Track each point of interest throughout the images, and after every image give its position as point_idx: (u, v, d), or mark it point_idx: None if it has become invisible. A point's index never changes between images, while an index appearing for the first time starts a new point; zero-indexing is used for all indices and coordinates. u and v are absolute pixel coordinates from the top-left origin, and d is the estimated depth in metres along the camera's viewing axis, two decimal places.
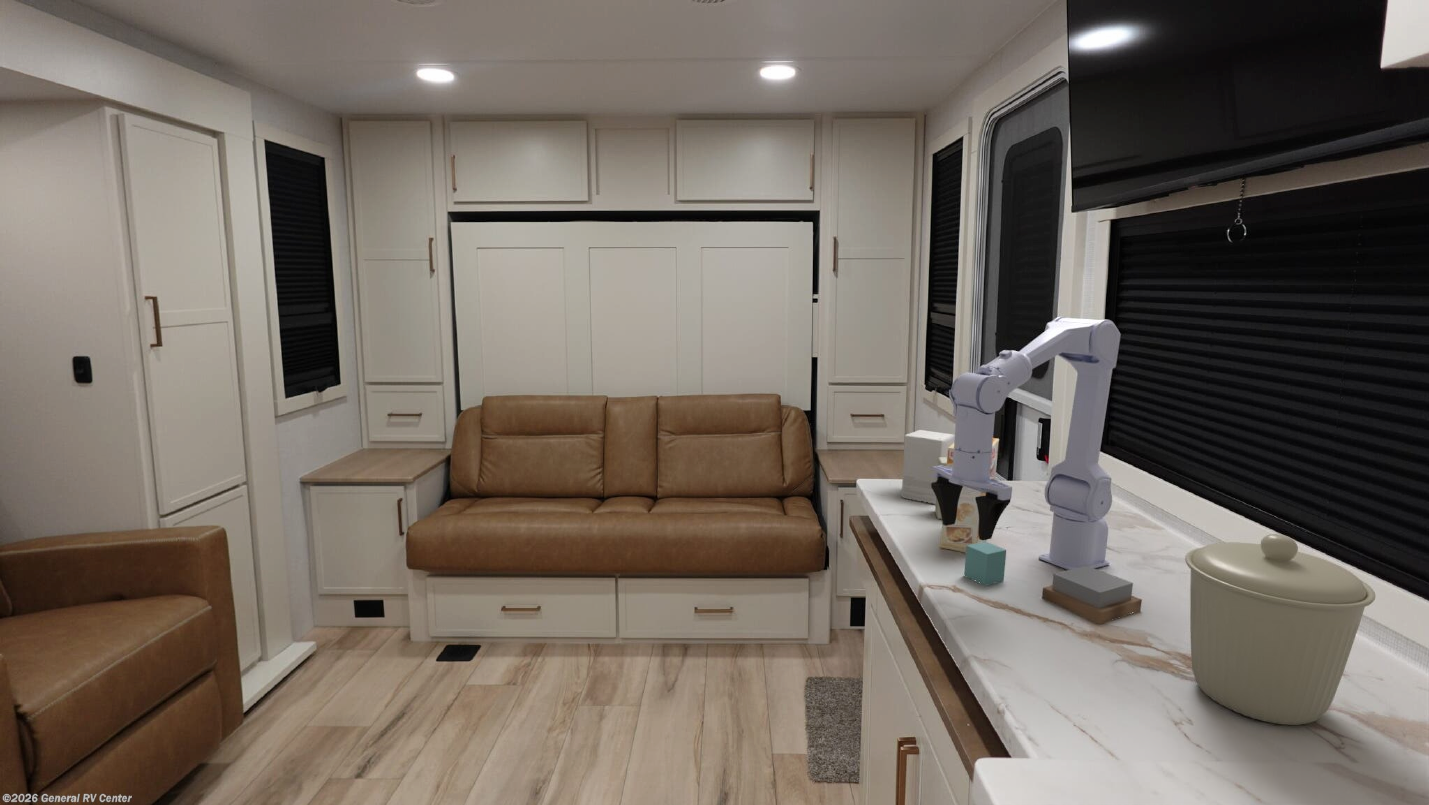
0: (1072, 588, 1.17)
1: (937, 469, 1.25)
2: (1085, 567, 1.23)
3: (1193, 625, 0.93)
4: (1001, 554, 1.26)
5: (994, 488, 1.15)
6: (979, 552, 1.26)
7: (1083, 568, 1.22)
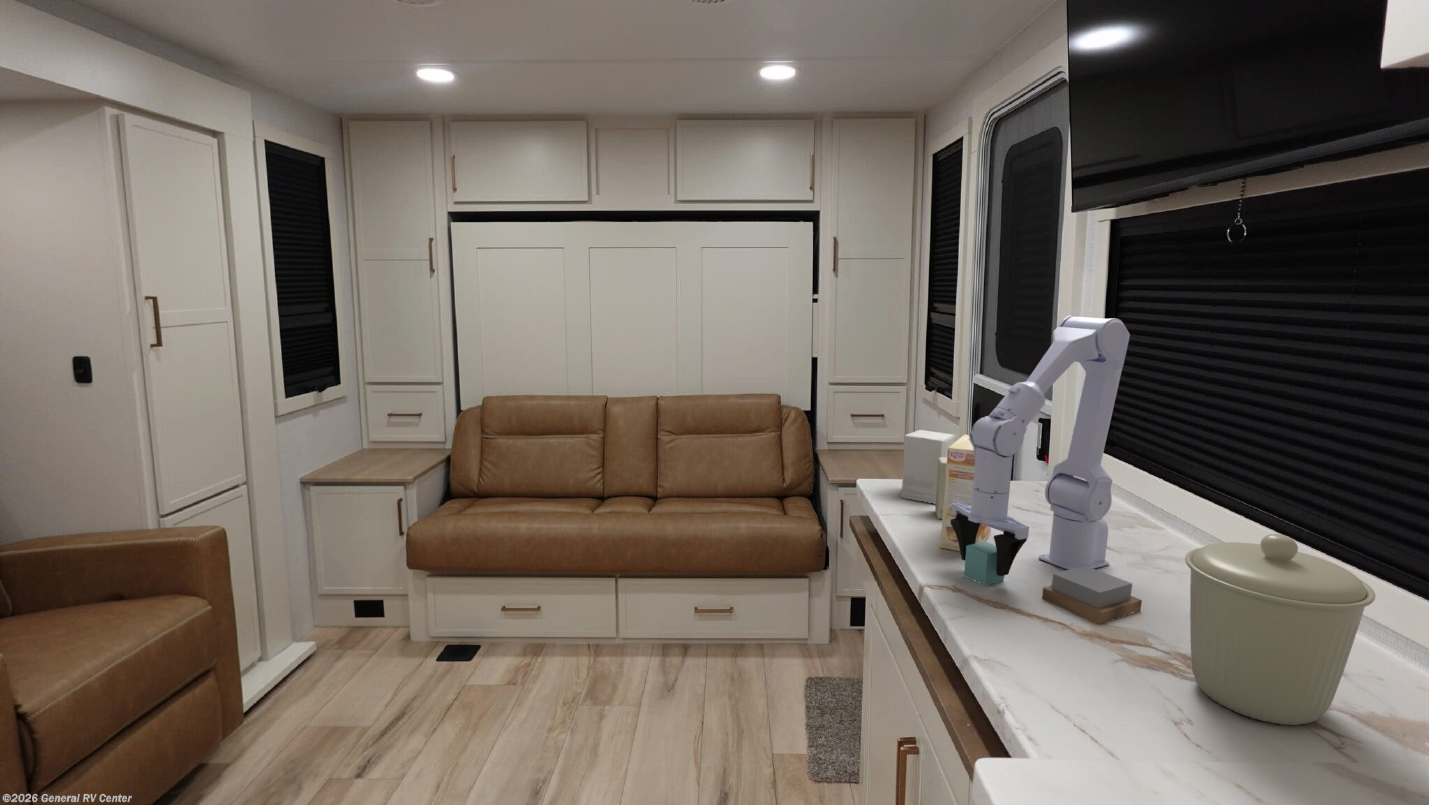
0: (1071, 588, 1.17)
1: (956, 506, 1.31)
2: (1084, 567, 1.23)
3: (1193, 625, 0.93)
4: None
5: (1012, 527, 1.21)
6: (979, 552, 1.26)
7: (1082, 568, 1.22)
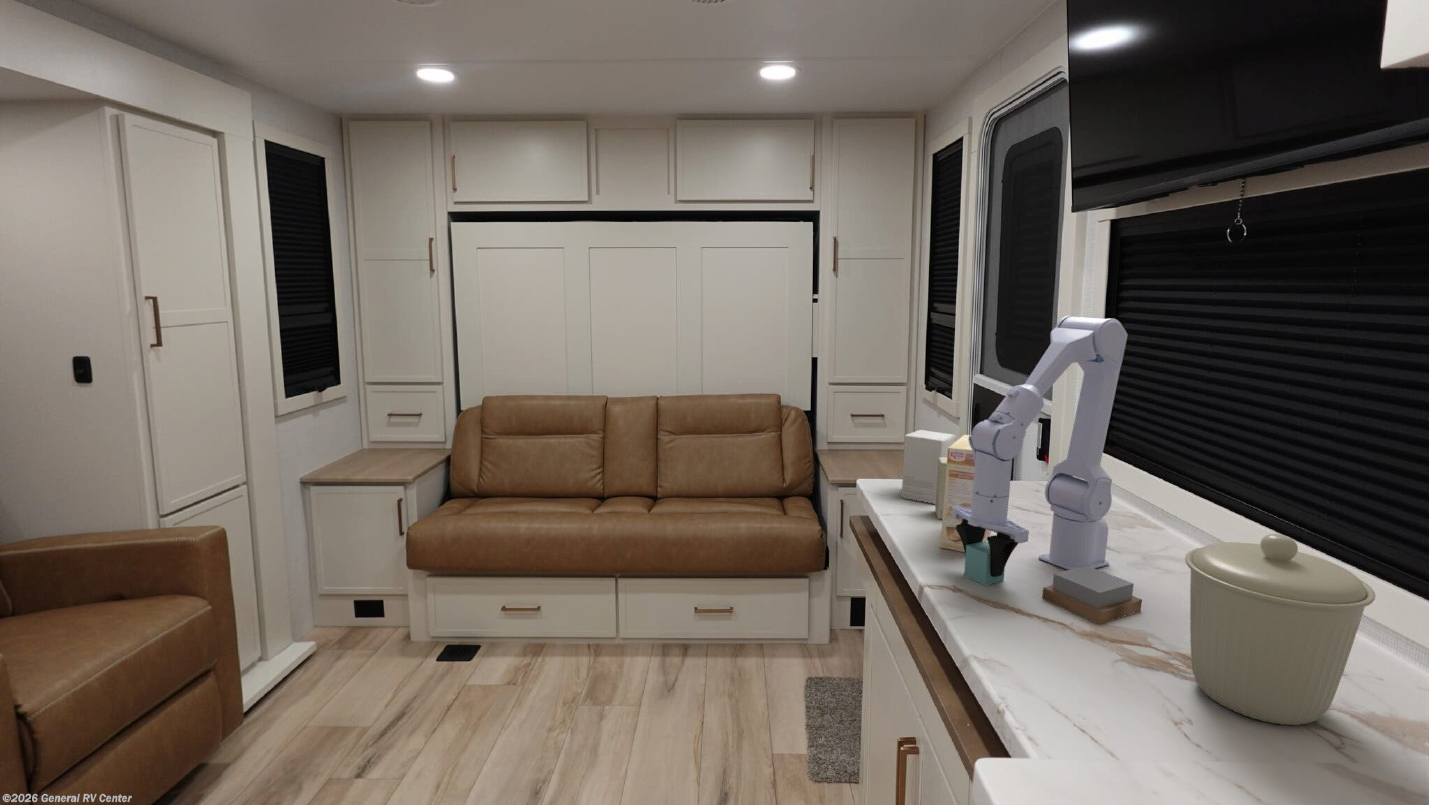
0: (1072, 588, 1.17)
1: (956, 510, 1.31)
2: (1086, 567, 1.22)
3: (1193, 625, 0.93)
4: None
5: (1011, 531, 1.21)
6: (979, 551, 1.26)
7: (1084, 568, 1.22)
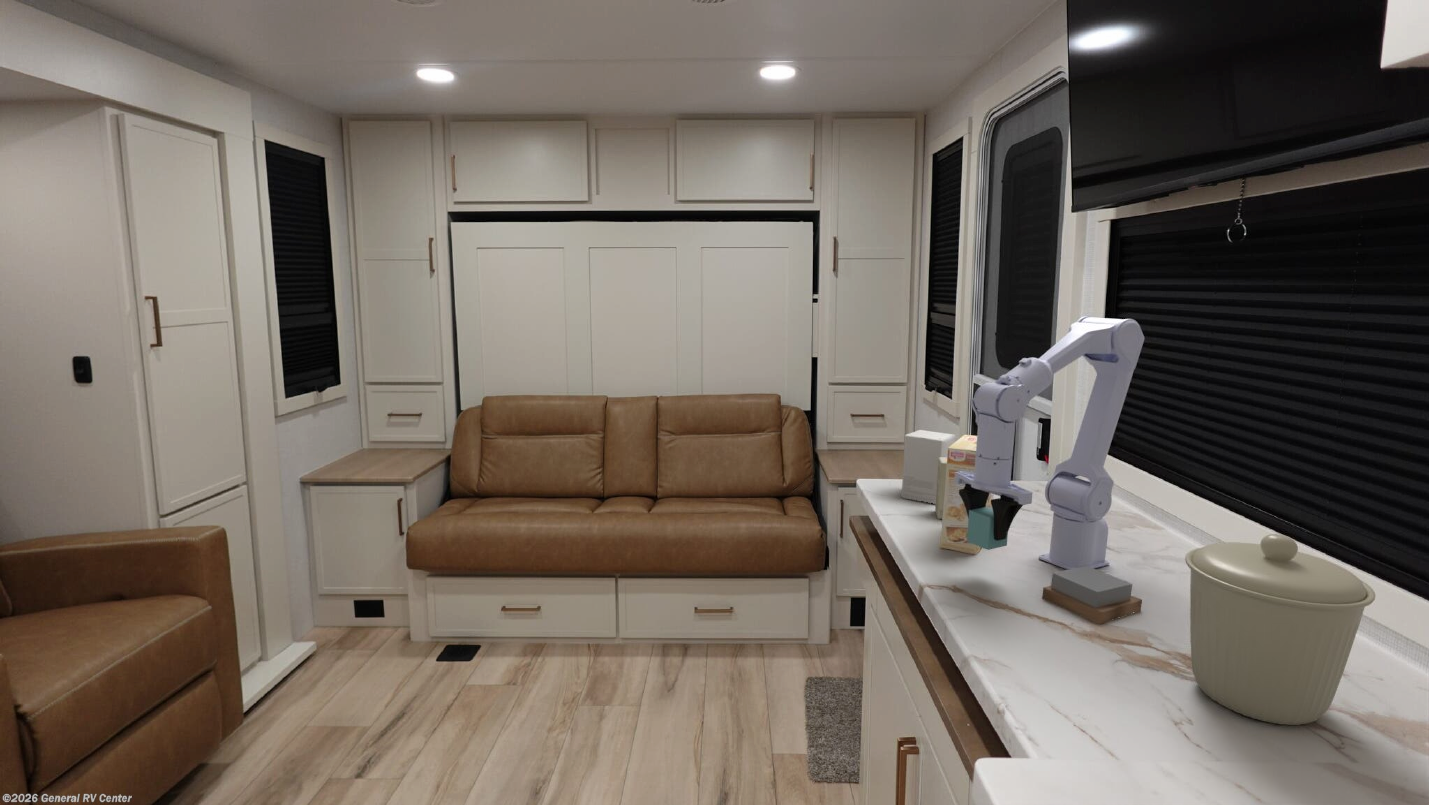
0: (1070, 588, 1.17)
1: (959, 475, 1.30)
2: (1085, 567, 1.22)
3: (1193, 625, 0.93)
4: None
5: (1015, 493, 1.20)
6: (981, 516, 1.25)
7: (1084, 568, 1.22)
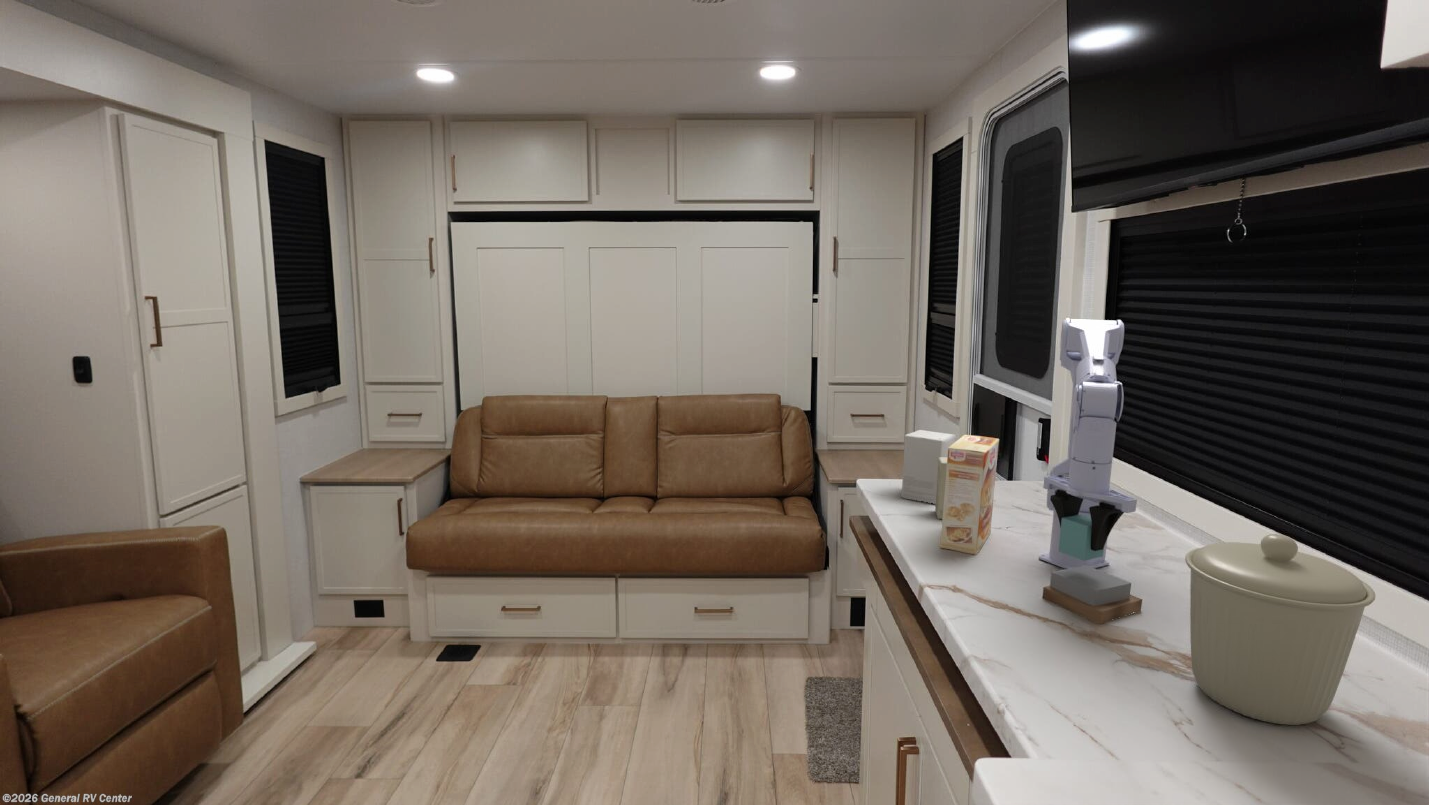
0: (1069, 587, 1.17)
1: (1049, 480, 1.22)
2: (1085, 566, 1.23)
3: (1193, 625, 0.93)
4: None
5: (1118, 500, 1.11)
6: (1077, 524, 1.16)
7: (1083, 567, 1.22)
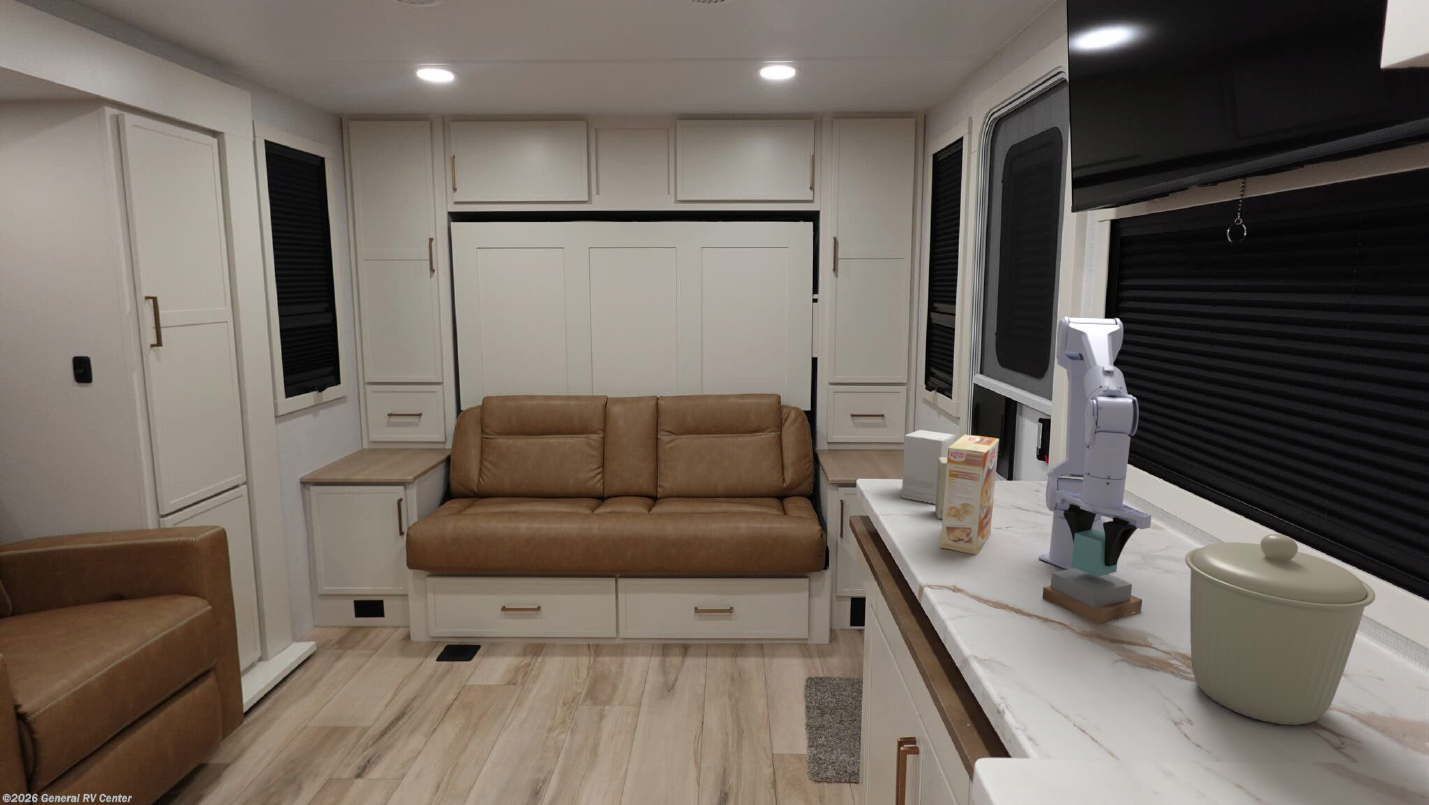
0: (1068, 587, 1.17)
1: (1062, 494, 1.21)
2: None
3: (1193, 625, 0.93)
4: None
5: (1132, 516, 1.11)
6: (1090, 539, 1.15)
7: None
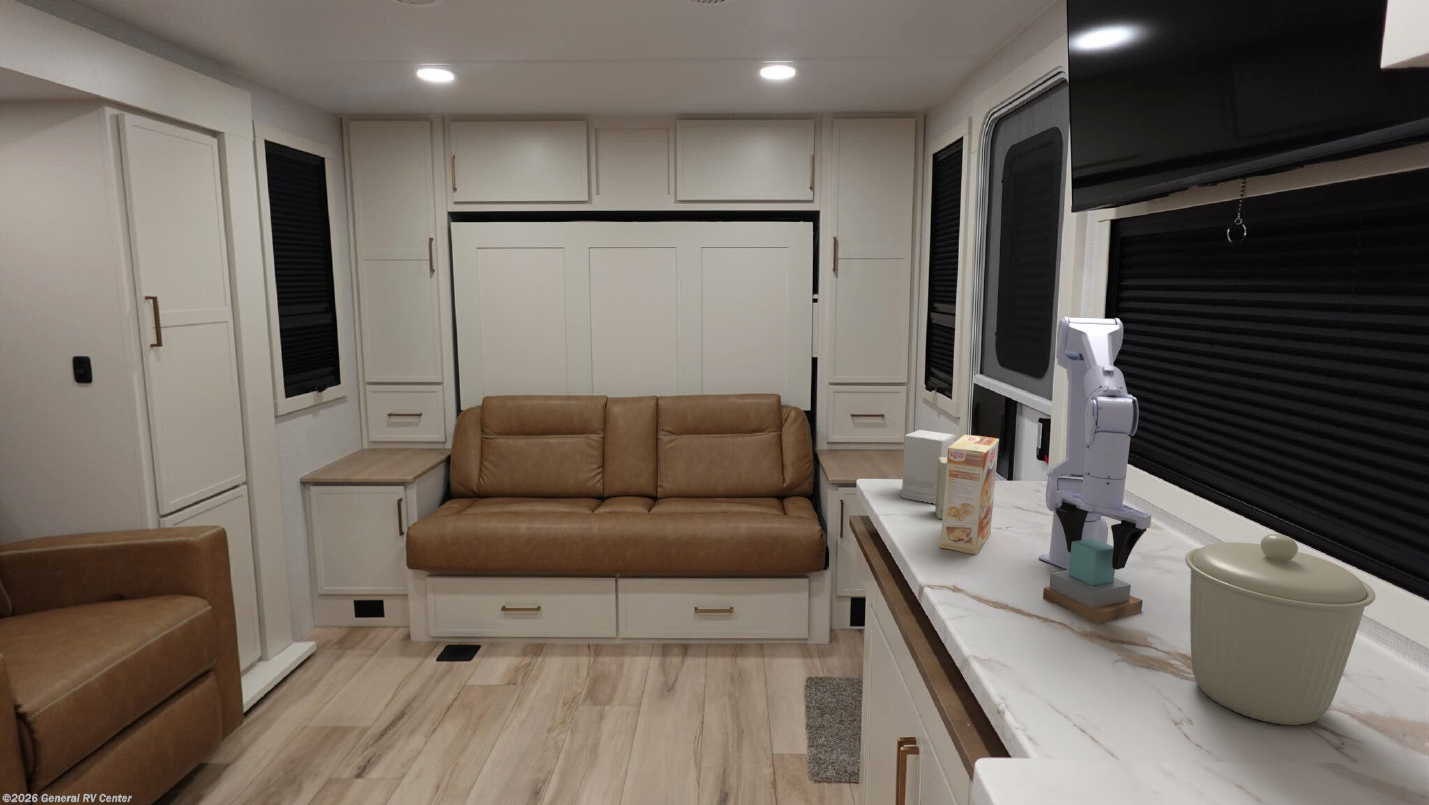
0: (1067, 588, 1.17)
1: (1062, 494, 1.21)
2: None
3: (1193, 625, 0.93)
4: (1111, 552, 1.16)
5: (1132, 516, 1.11)
6: (1086, 548, 1.16)
7: None
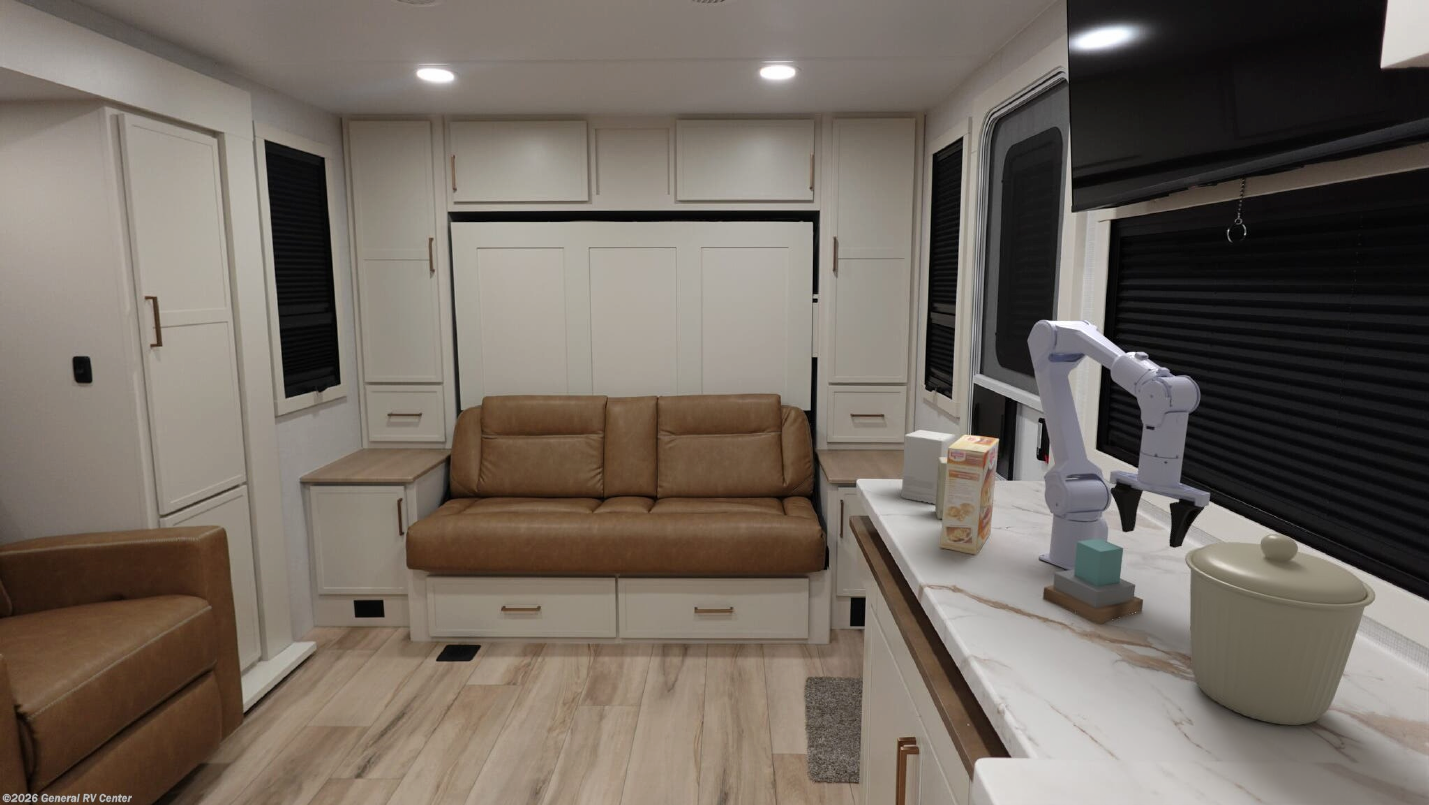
0: (1071, 588, 1.17)
1: (1116, 474, 1.22)
2: None
3: (1193, 625, 0.93)
4: (1117, 552, 1.15)
5: (1191, 494, 1.12)
6: (1091, 549, 1.16)
7: None
